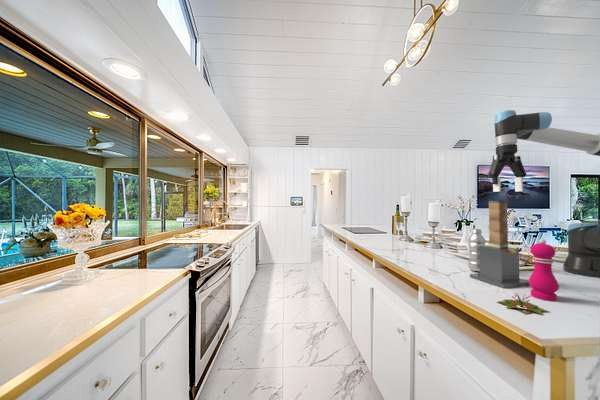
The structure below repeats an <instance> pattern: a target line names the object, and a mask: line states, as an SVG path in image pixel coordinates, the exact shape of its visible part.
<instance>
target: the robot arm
mask: <svg viewBox="0 0 600 400" xmlns="http://www.w3.org/2000/svg"><path fill="white" fill-rule="evenodd" d="M552 119H553V117H552V114H551V113H550V112H547V111H542V112H540V111H539V112H534V113H524V114H517V112H516V110H514V109H512V110H511V109H510V110H509V109H508V110H507V109H506V110H503V111H499V112H498V113H496V114H495V115H494V123H493V124H494V134H495V135H494V136H495V155H493V156H492V162H491V165H490V167H489V171H488V174H487V175H488V176H487V177H489V178H491V179H492V191H493V193H496V192H497V193H498V192H501V191H502V187H501V184H502V183H501V177H500V174H501V173H502V171H503V170H504V168H505V167H508V168H510V170H511V172H512V173H513V174H514V176H515V177H514V192H524V187H523V186H524V184H523V178H525V177H527V172H526V170H525V168H524V165H523V163H522V160H521V159H522V157H521V156H520V155H515V154H517V153H518V144H517V143H518V140H522V141H529V142H532V143H533V142H534V143H538V144H545V145H549V146H555V147H560V148H567V149H573V150H578V151H582V152H586V153H587V155H592V156H597V157H600V133H599V134H591V133H586V132H579V131H573V130H568V129H562V128H556V127H550V126H551V124H552V122H553V120H552ZM566 232H567V251H568V253H567V254H568V255H567V257H566V258H565V261H564V263H563V266H562V268H563V271H565V272H567V273H571V274H575V275H581V276H586V277H587V276H588V277H594V278H600V219H599V220H598V222H577V223H575V222H574V223H570V224H568V226H567V230H566Z"/></svg>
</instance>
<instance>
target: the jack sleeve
mask: <svg viewBox="0 0 600 400" xmlns="http://www.w3.org/2000/svg"><path fill="white" fill-rule="evenodd" d="M479 247H480V272H478V273H469V278H470V277H471V279H473V278H474V280H476V279H477V281H479V280H480V282H482V283H483V282H484V283H485V284H489V285H491V286H494V287H495V286H496V287H498V288H502V289H511V288H510V287H512V288H521V287H520V286H522V287H529V286H530V285H529V280H526V279H522V278H520V249H519V248H515V247H509V246H508V248H506V249H498V248H493V247H489V245H485V246H479ZM530 287H531V286H530Z"/></svg>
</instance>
